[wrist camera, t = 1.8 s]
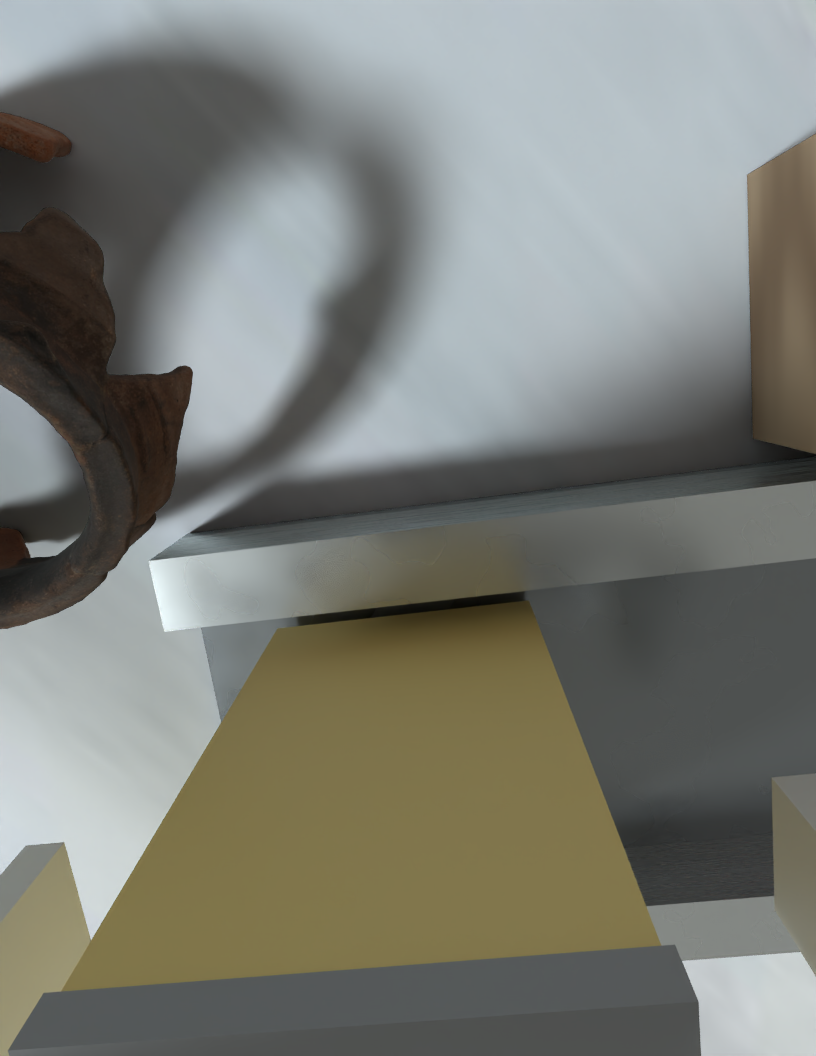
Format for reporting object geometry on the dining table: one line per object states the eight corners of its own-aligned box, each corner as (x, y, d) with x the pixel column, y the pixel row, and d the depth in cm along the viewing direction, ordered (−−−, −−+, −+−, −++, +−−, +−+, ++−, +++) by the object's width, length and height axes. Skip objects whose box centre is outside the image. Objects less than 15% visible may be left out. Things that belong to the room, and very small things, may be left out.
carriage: (272, 625, 17) (8, 1050, 6) (532, 595, 16) (698, 1001, 6) (317, 861, 18) (160, 1516, 8) (556, 840, 18) (722, 1503, 7)
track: (187, 533, 17) (148, 561, 15) (1096, 422, 16) (1213, 432, 13) (268, 918, 20) (245, 993, 17) (1058, 853, 18) (1150, 925, 16)
